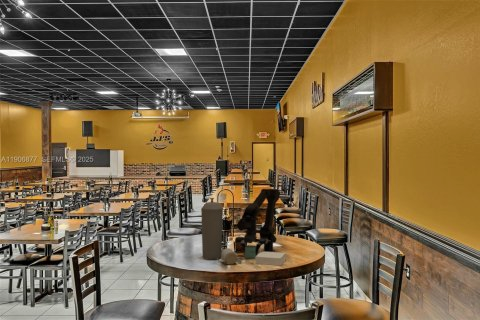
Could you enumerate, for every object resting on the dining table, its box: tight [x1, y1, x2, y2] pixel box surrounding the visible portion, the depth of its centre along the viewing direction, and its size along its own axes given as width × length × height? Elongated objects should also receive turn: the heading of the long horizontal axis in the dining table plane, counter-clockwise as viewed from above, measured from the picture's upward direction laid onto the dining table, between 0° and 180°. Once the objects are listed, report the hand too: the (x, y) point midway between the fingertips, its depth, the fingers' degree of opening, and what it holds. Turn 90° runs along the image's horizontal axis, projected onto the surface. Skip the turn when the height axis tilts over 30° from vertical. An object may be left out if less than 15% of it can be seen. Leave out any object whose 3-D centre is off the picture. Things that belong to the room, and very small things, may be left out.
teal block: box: [244, 244, 259, 259], centre depth 254 cm, size 6×6×6 cm
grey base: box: [254, 250, 287, 267], centre depth 241 cm, size 14×14×4 cm
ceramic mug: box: [220, 247, 242, 265], centre depth 238 cm, size 11×8×8 cm
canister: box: [200, 197, 224, 261], centre depth 251 cm, size 13×13×35 cm
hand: (251, 254), depth 254 cm, fingers closed on teal block, 6 cm apart
